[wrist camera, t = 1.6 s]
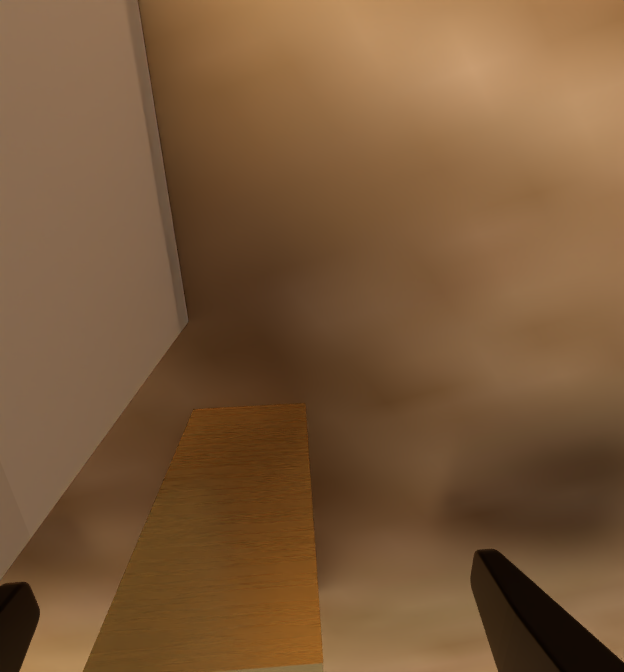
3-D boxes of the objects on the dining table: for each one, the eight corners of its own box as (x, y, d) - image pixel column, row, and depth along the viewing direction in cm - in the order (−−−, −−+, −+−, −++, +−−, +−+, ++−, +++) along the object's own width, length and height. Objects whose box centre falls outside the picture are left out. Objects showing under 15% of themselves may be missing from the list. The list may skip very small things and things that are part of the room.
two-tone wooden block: (305, 401, 9) (323, 662, 4) (313, 591, 11) (331, 902, 6) (193, 407, 8) (78, 682, 4) (225, 597, 11) (176, 918, 6)
